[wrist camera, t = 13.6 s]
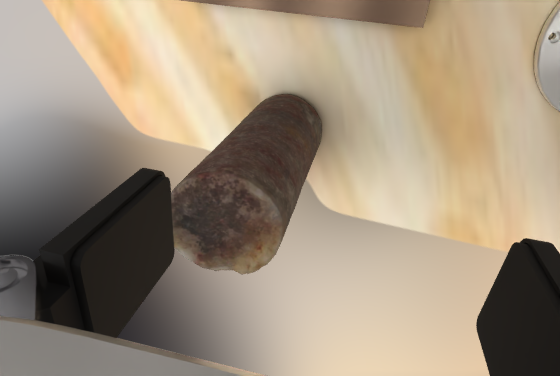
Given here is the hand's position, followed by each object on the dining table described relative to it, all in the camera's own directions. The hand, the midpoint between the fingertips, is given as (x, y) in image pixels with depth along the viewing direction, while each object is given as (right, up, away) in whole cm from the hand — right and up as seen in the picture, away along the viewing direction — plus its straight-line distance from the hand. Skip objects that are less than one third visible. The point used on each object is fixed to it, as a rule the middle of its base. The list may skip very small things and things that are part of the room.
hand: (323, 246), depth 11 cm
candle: (0, +8, +29) cm, 30 cm away
